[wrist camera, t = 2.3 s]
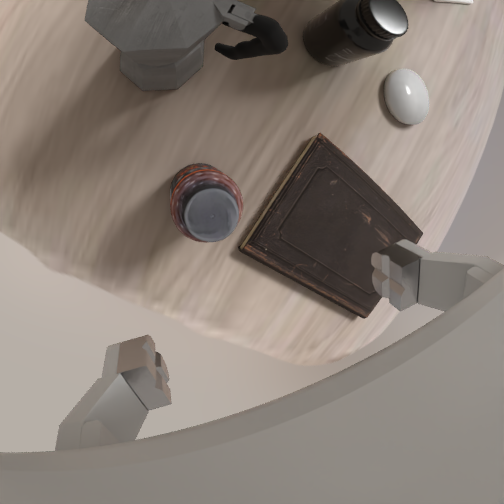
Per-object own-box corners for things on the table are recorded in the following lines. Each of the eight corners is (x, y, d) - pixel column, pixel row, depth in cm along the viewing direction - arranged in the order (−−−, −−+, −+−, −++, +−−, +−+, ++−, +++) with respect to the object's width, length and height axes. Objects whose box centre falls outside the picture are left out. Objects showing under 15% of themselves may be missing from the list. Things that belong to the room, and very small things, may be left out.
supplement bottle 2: (359, 44, 29) (425, 24, 19) (333, 77, 30) (401, 62, 20) (318, 8, 27) (377, -28, 16) (289, 40, 28) (346, 6, 17)
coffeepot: (87, 75, 24) (12, 19, 7) (127, 2, 21) (106, -99, 5) (220, 120, 29) (284, 99, 13) (255, 47, 27) (343, -23, 11)
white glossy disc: (417, 70, 32) (423, 69, 31) (427, 121, 36) (432, 122, 35) (378, 69, 31) (384, 68, 30) (389, 126, 35) (395, 127, 33)
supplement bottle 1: (213, 153, 30) (237, 160, 20) (233, 203, 33) (265, 234, 23) (160, 177, 30) (157, 196, 20) (183, 226, 32) (192, 268, 22)
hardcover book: (311, 132, 33) (320, 132, 31) (413, 228, 42) (423, 233, 40) (236, 246, 35) (241, 253, 33) (357, 313, 45) (365, 320, 43)
